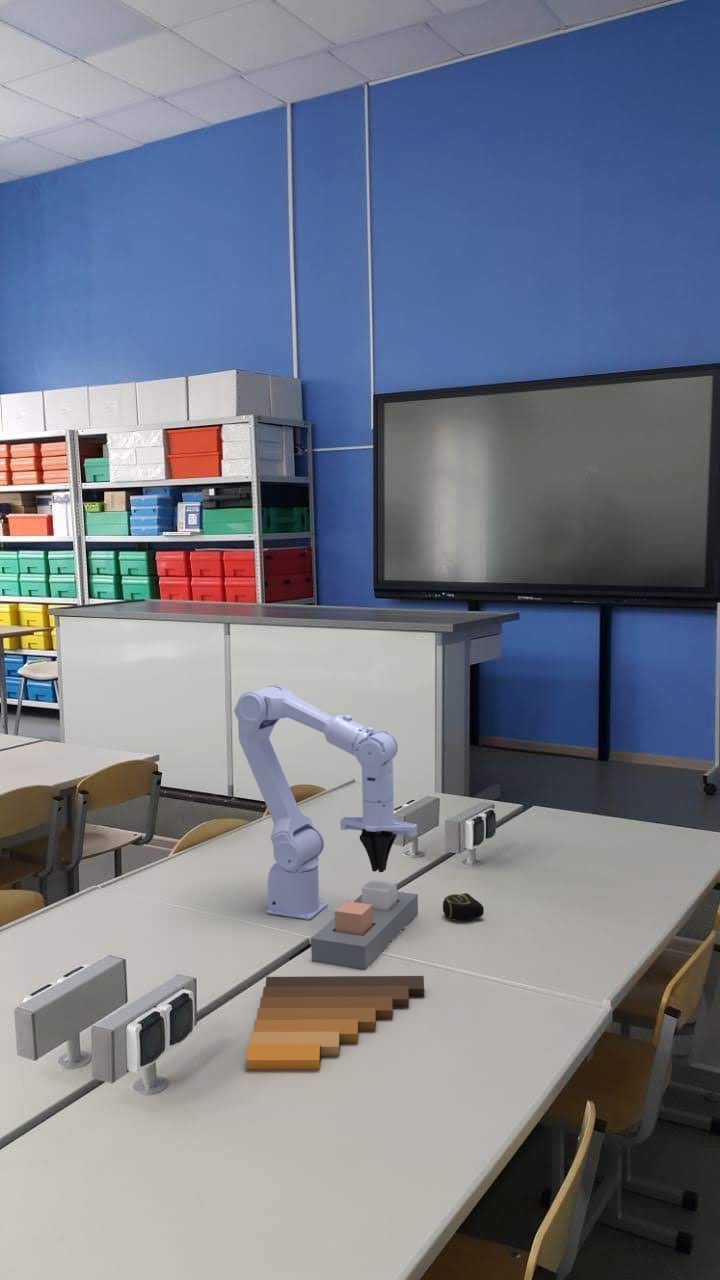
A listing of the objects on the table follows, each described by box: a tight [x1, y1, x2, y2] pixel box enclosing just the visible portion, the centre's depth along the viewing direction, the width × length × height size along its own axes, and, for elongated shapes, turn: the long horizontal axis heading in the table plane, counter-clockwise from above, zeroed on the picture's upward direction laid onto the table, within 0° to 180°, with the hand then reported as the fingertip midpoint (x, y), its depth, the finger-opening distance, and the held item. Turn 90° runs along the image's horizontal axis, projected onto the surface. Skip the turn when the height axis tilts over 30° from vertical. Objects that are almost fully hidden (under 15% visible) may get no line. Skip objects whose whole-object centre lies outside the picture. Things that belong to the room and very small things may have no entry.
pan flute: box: [245, 975, 425, 1070], centre depth 149 cm, size 25×3×25 cm
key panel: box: [310, 891, 419, 970], centre depth 182 cm, size 10×26×4 cm, turn 157°
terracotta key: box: [334, 900, 373, 936], centre depth 176 cm, size 5×5×4 cm
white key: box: [361, 879, 398, 911], centre depth 187 cm, size 5×5×4 cm
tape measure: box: [442, 892, 485, 922], centre depth 190 cm, size 7×7×4 cm
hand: (379, 870), depth 186 cm, fingers closed
